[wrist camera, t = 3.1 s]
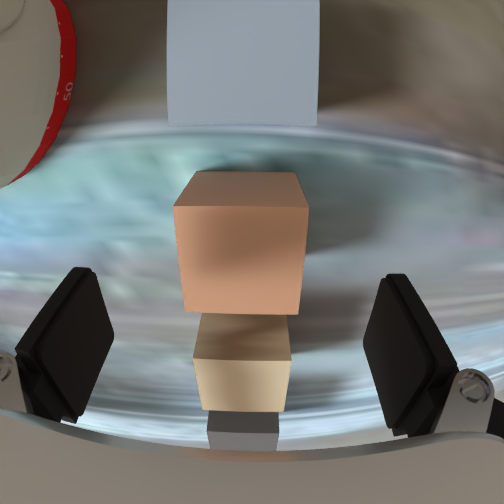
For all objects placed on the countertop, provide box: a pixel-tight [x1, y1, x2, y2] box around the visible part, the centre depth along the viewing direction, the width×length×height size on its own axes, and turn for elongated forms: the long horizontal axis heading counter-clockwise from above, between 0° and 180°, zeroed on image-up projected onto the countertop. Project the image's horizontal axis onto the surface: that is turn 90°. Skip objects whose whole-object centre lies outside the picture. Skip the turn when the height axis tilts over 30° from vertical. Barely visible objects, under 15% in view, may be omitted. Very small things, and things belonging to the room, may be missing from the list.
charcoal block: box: [207, 410, 279, 451], centre depth 23 cm, size 5×5×5 cm
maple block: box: [193, 313, 292, 412], centre depth 19 cm, size 5×5×5 cm
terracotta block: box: [173, 171, 309, 315], centre depth 15 cm, size 5×5×5 cm
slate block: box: [167, 0, 320, 127], centre depth 11 cm, size 5×5×5 cm
